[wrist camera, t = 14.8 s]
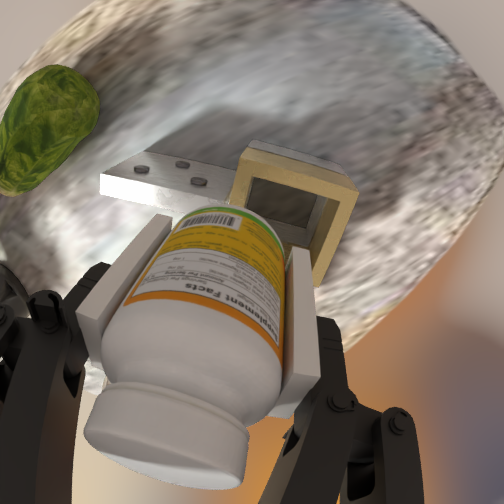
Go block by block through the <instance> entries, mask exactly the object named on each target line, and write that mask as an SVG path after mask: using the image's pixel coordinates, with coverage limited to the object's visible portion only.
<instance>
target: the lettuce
mask: <svg viewBox="0 0 504 504" xmlns="http://www.w3.org/2000/svg"><path fill="white" fill-rule="evenodd" d="M99 111H100V101H99V98H98V96H97V93H96V91H95V89H94V88H93V87H92V85H91V84H90V83H89V81H88V80H87V79H85V78H84V77H83V76H82V75H81V74H80V73H78V72H77V71H75V70H73V69H71V68H69V67H66V66H62V65H58V64H56V65H48V66H45V67H44V68H42V69H40V70H38V71H36V72H35V73H33V74H32V75H30V76H29V77H27V78H26V79H25V80H24V82H23V83H22V84H21V85H20V86H19V87H18V88H17V90H16V92H15V94H14V96H13V98H12V100H11V102H10V104H9V105H8V107H7V109H6V111H5V114H4V116H3V119H2V122H1V124H0V193H1V194H3V195H5V196H11V197H15V196H18V195H20V194H22V193H24V192H27V191H30V190H32V189H34V188H35V187H37V186H38V185H39V184H40V183H41V182H42V181H43V180H44V179H45V178H46V177H47V176H48V175H49V174H50V173H51V172H53V171H54V170H55V169H57V168H58V167H59V166H60V165H61V164H62V163H63V162H64V161H65V160H66V159H67V157H68V156H69V155H70V153H71V152H72V151H73V149H74V148H75V147H76V145H77V144H78V143H79V142H80V141H81V140H82V139H84V138H85V137H86V136H87V135H89V134H90V133H91V131H92V130H93V128H94V127H95V126H96V123H97V119H98V115H99Z"/></svg>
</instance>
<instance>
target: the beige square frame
mask: <svg viewBox="0 0 504 504" xmlns="http://www.w3.org/2000/svg"><path fill="white" fill-rule="evenodd" d="M253 176H254V177H258V178H262V179H265V180H269V181H273V182H276V183H280V184H284V185H287V186H291V187H294V188H298V189H301V190H305V191H308V192H311V193H315V194H318V195H321V196H324V197H328V199H327V202H326V204H325V207H324V210H323V213H322V215H321V218H320V221H319V223H318V226H317V228H316V231H315V234H314V236H313V239H312V241H311V244H310V247H309V249H306V250H309V252H310V261H311V269H312V279H313V286H315V287H319V286H320V284H321V282H322V279H323V277H324V275H325V273H326V271H327V269H328V266H329V264H330V262H331V260H332V257H333V255H334V253H335V251H336V248H337V246H338V244H339V241H340V239H341V237H342V234H343V232H344V230H345V227H346V225H347V223H348V220H349V218H350V215H351V213H352V210H353V208H354V206H355V203H356V201H357V198H358V195H359V193H360V192H359V191H358V190H357V188H356V187H355V185H354V184H353V182H352V181H351V179H350V178H349V177H347V176H344V175H341V174H338V173H335V172H332V171H329V170H326V169H323V168H320V167H317V166H313V165H310V164H307V163H303V162H300V161H297V160H293V159H290V158H286V157H283V156H279V155H275V154H272V153H268V152H264V151H260V150H256V149H252V148H248V147H247V148H246V149H245V150H244V152H243V153H242V155H241V156H240V158H239V163H238V167H237V171H236V175H235V180H234V184H233V188H232V193H231V197H230V202H229V204H230V205H235V206H239V207H242V208H245V207H246V203H247V199H248V195H249V191H250V187H251V183H252V179H253ZM281 244H282V247H283V251H284V257H285V268H286V265H287V262H288V259H289V256H290V253H291V250H292V247H293V245H290V244H286V243H282V242H281ZM294 247H297V246H294ZM298 248H301V247H298ZM302 249H304V248H302Z"/></svg>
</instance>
